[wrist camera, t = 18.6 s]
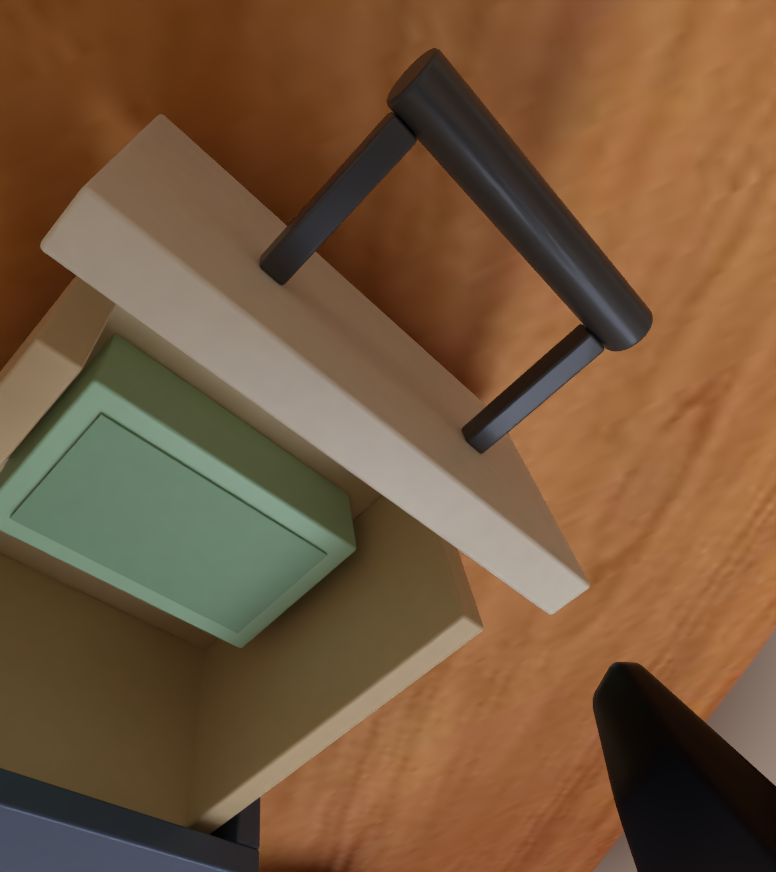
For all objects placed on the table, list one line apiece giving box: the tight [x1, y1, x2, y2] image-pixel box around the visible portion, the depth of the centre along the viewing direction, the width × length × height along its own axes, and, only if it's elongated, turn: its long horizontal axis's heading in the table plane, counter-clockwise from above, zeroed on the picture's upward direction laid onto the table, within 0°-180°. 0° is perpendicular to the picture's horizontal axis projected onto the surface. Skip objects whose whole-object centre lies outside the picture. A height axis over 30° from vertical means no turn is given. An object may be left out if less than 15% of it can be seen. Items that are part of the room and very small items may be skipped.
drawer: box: [0, 48, 653, 834], centre depth 16 cm, size 18×12×7 cm
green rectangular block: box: [0, 334, 356, 648], centre depth 18 cm, size 5×8×3 cm, turn 45°
